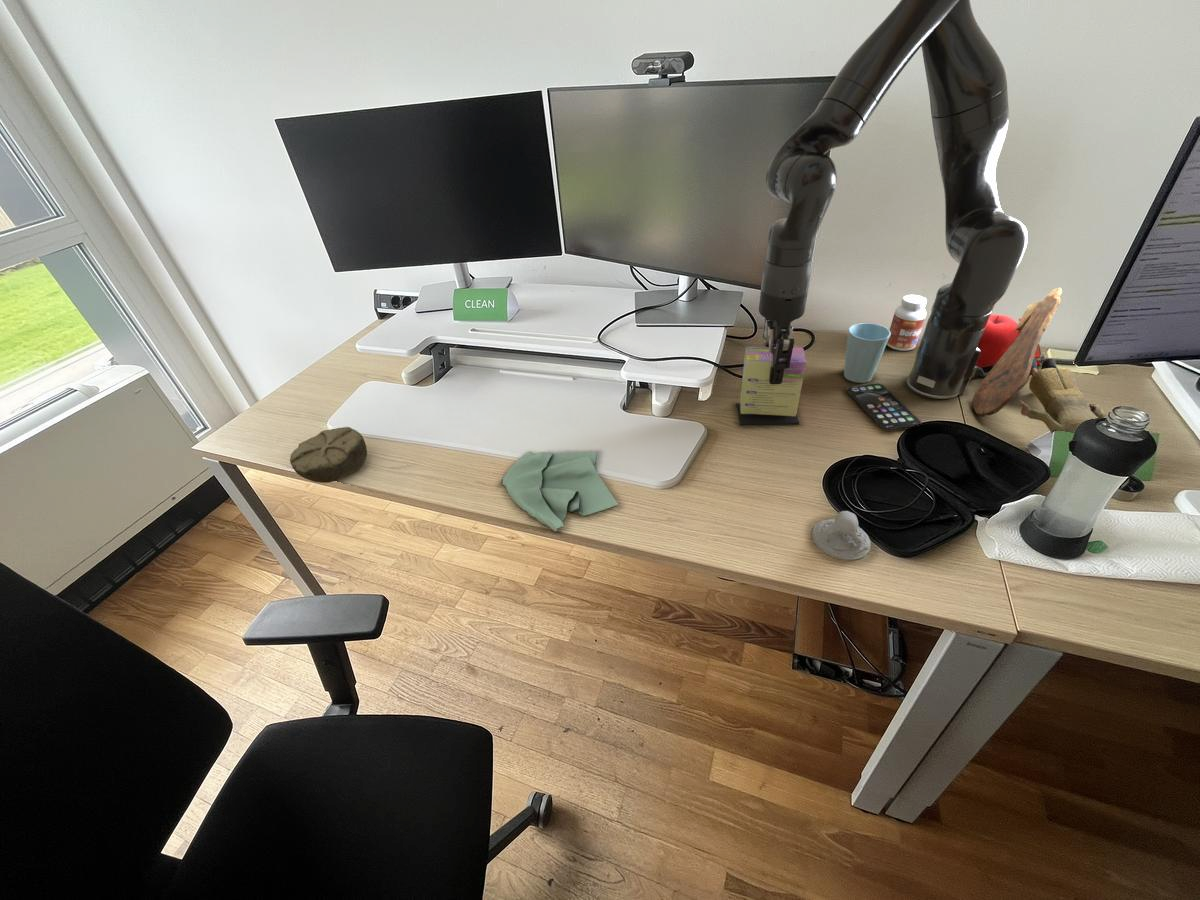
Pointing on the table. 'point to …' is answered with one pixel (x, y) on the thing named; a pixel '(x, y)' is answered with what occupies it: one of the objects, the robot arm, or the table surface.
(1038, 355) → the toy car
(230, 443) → the table surface
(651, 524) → the table surface
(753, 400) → the box
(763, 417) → the black striped rectangular slab
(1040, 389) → the figurine
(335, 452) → the stone
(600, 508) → the cloth
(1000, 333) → the apple
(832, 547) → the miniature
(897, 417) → the smartphone
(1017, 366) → the paddle
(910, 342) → the pill bottle
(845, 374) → the cup
